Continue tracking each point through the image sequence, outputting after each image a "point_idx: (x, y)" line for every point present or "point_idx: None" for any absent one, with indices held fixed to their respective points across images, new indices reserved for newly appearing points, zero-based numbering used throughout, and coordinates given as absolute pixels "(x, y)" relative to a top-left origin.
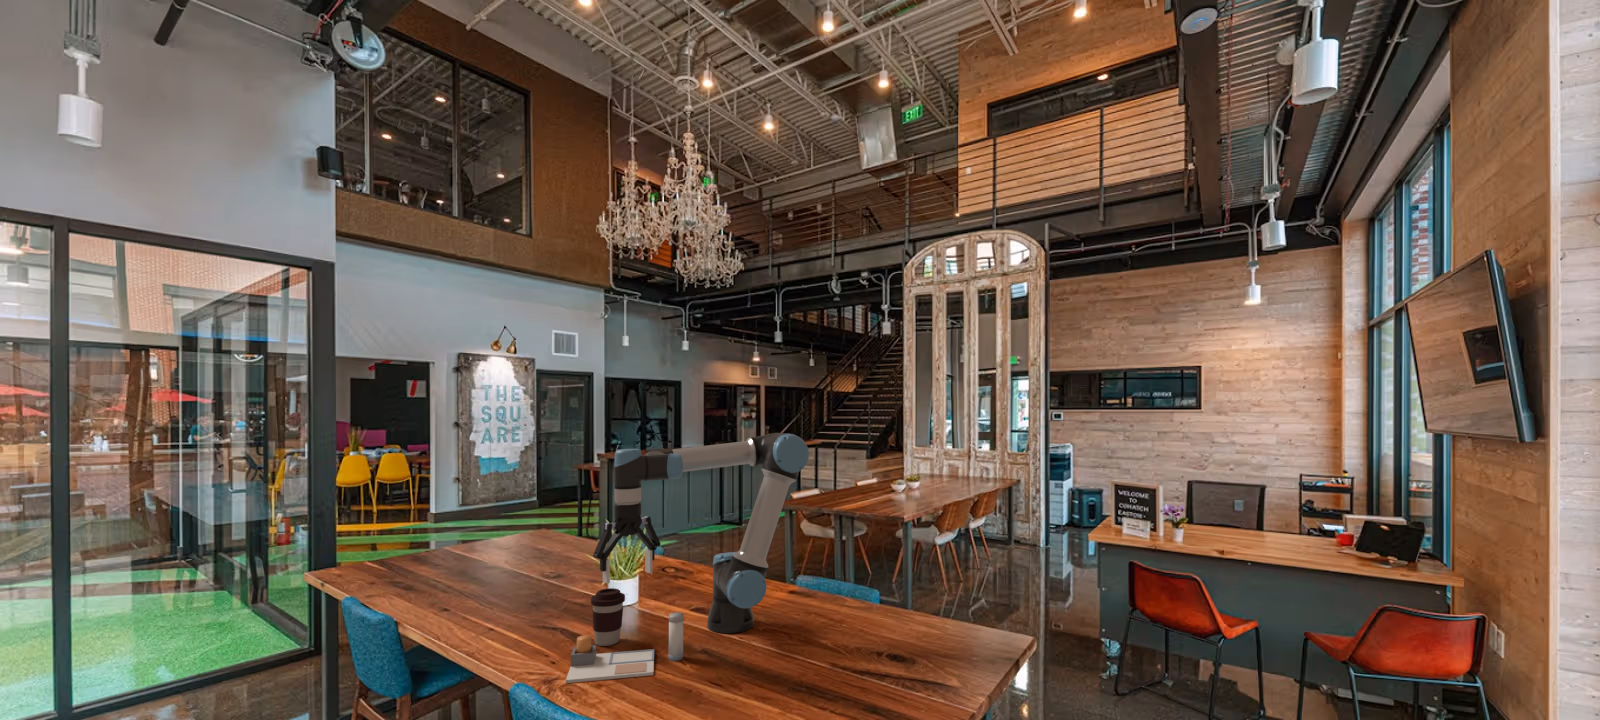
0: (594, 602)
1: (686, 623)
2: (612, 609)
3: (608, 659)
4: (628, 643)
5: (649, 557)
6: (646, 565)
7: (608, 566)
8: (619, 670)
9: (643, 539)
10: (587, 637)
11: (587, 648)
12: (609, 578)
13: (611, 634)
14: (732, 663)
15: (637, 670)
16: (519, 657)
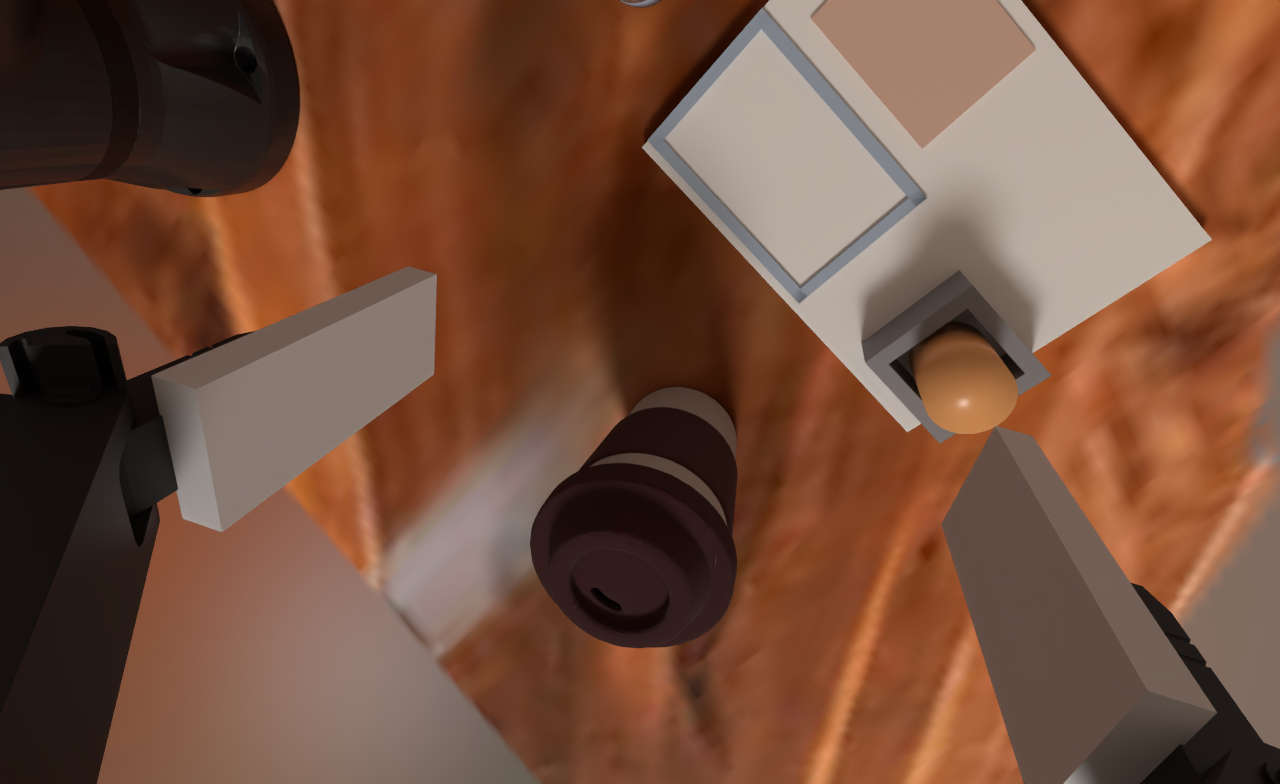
0: (733, 582)
1: (332, 282)
2: (674, 471)
3: (868, 254)
4: (641, 341)
5: (297, 359)
6: (388, 382)
7: (1113, 586)
8: (980, 64)
9: (38, 650)
10: (957, 382)
11: (973, 339)
12: (1018, 457)
13: (696, 411)
14: None
15: None
16: None
